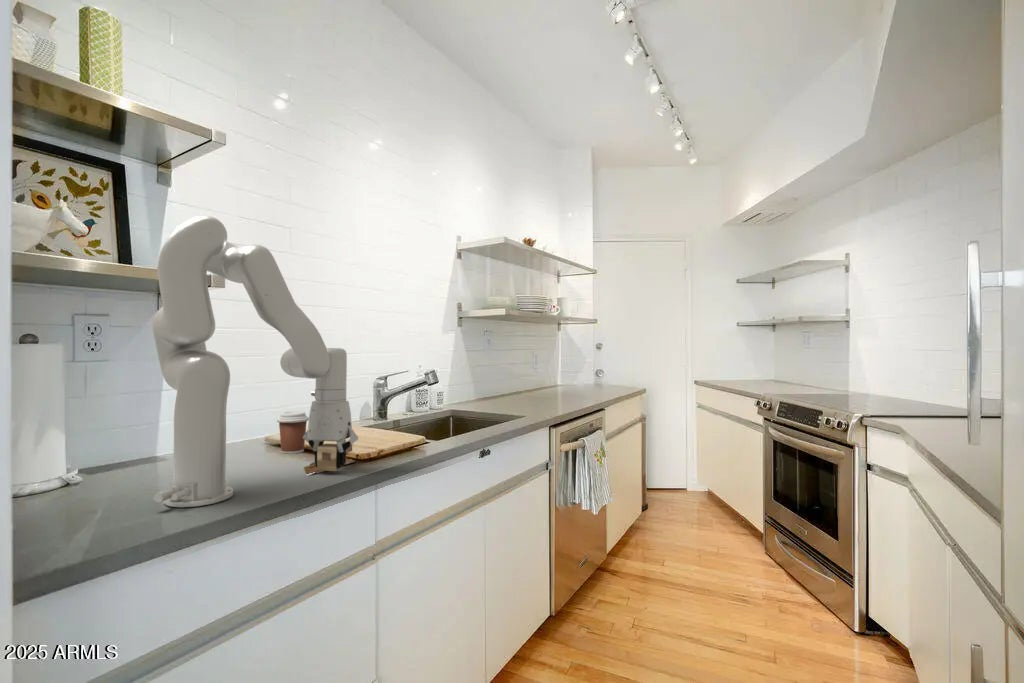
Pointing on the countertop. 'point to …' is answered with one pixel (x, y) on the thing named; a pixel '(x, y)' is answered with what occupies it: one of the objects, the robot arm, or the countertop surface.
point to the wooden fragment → (313, 468)
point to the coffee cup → (292, 431)
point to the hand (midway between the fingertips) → (330, 465)
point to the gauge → (328, 457)
